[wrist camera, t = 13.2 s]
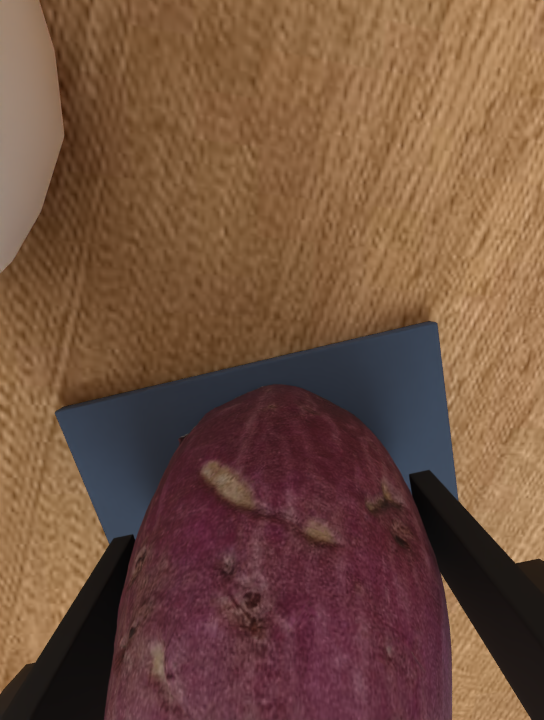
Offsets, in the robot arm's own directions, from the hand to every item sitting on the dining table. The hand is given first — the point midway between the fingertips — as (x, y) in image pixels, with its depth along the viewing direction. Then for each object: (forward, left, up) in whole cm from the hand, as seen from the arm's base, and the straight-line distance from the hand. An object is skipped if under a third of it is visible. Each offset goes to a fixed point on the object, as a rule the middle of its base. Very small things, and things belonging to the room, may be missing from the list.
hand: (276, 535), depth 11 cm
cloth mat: (0, 0, -3) cm, 3 cm away
